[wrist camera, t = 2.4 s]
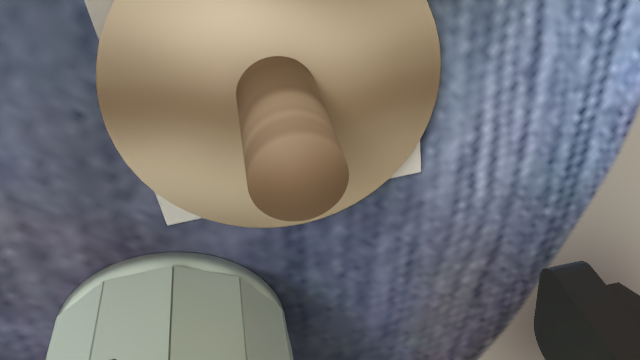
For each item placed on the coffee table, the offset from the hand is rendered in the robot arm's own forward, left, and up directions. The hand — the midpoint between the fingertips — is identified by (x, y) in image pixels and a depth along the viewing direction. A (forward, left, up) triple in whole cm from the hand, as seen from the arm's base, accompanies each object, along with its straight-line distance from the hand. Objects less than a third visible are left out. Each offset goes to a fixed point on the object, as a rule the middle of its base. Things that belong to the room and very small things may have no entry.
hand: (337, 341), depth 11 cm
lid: (0, 0, -11) cm, 11 cm away
